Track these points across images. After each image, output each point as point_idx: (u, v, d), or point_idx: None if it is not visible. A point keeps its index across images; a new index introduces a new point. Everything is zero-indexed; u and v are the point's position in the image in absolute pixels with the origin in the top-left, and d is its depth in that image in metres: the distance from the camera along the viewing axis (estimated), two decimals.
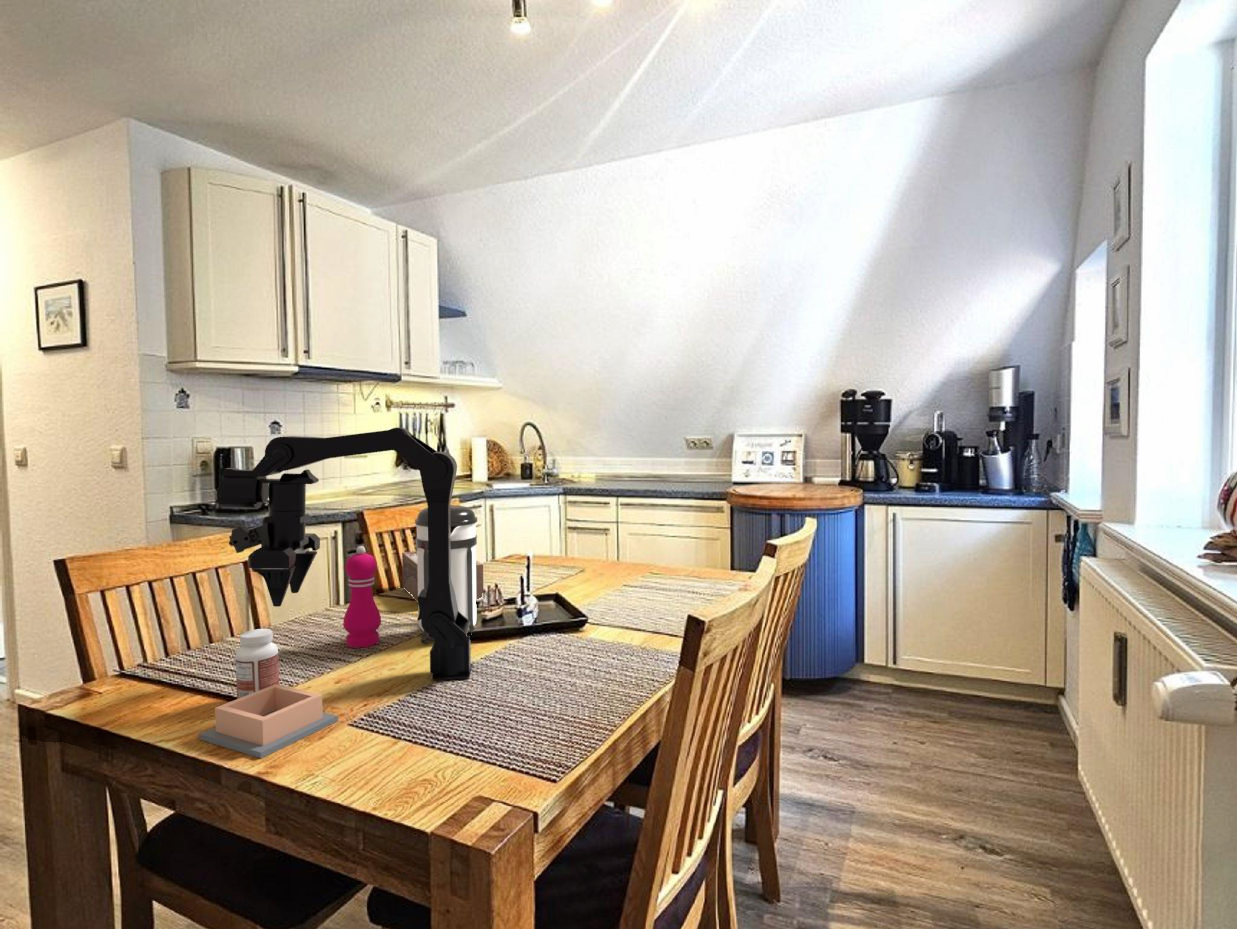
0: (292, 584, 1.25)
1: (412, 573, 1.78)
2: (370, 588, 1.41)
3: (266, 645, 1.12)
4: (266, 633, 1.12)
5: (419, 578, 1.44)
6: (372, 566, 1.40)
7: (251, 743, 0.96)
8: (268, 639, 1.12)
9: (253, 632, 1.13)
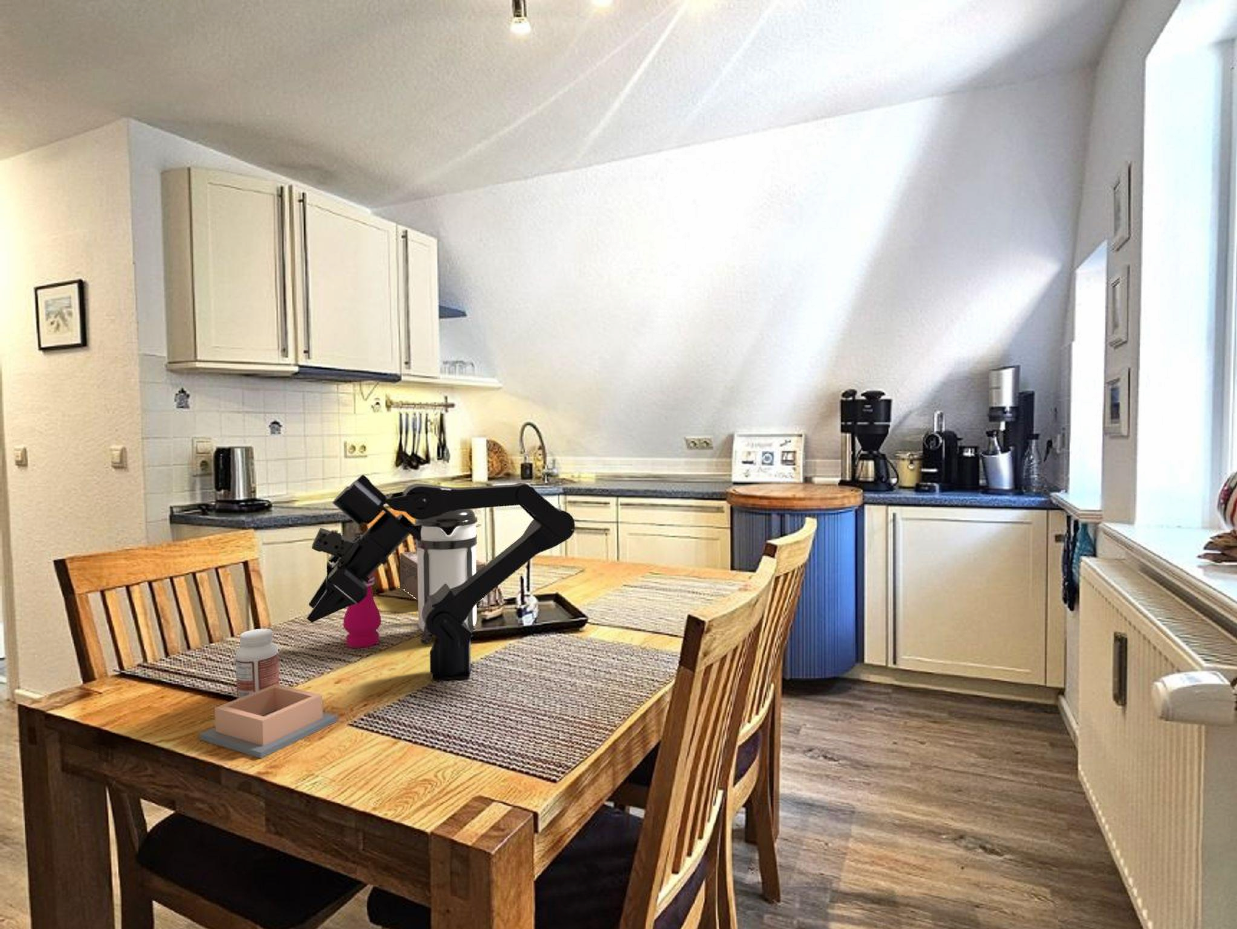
0: (315, 598, 1.20)
1: (412, 573, 1.78)
2: (370, 588, 1.41)
3: (266, 645, 1.12)
4: (266, 633, 1.12)
5: (419, 578, 1.44)
6: None
7: (251, 743, 0.96)
8: (268, 639, 1.12)
9: (253, 632, 1.13)
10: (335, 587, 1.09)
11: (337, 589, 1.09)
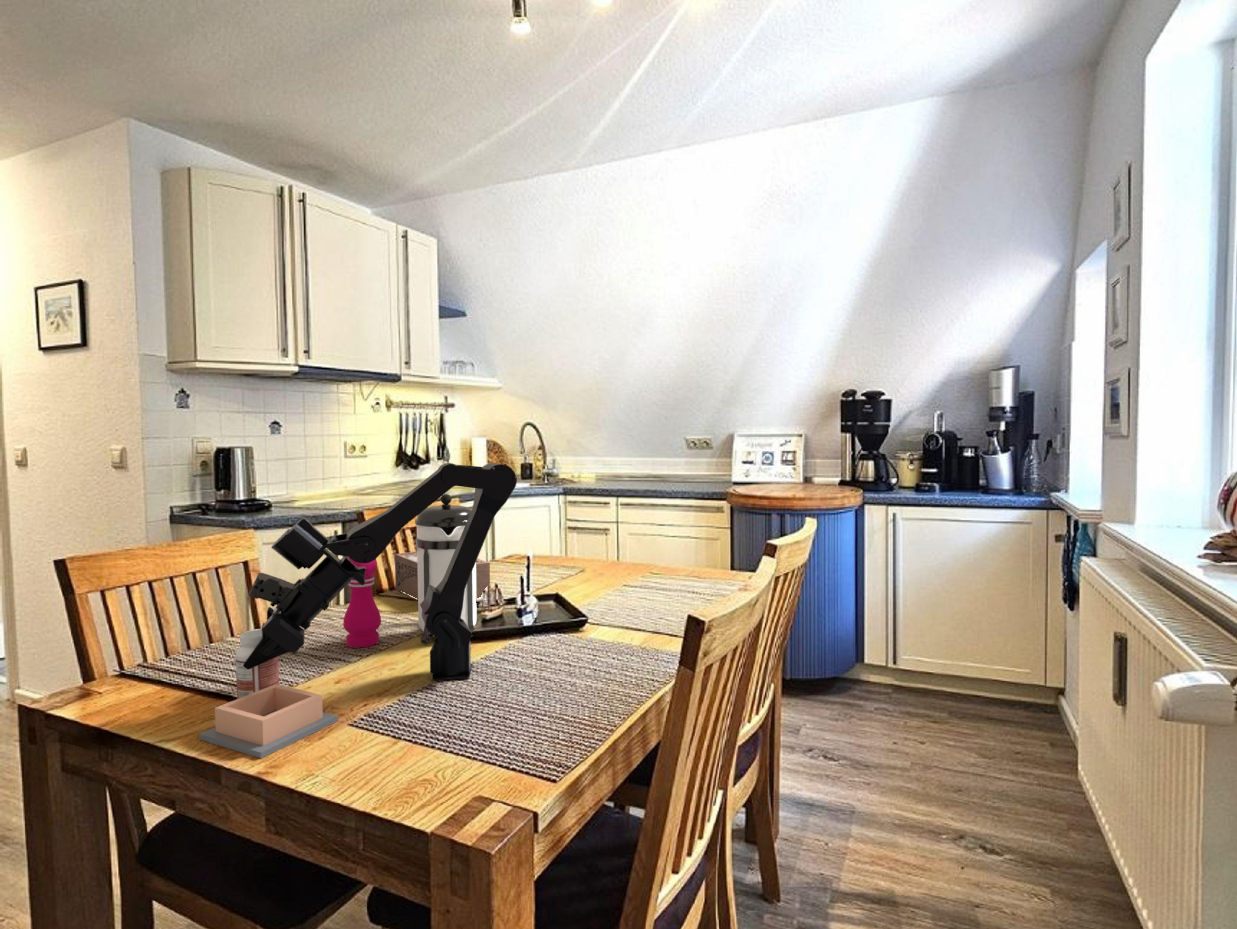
0: None
1: (413, 574, 1.77)
2: (370, 588, 1.41)
3: None
4: None
5: (419, 578, 1.44)
6: (372, 566, 1.40)
7: (251, 743, 0.96)
8: None
9: (253, 632, 1.13)
10: None
11: None
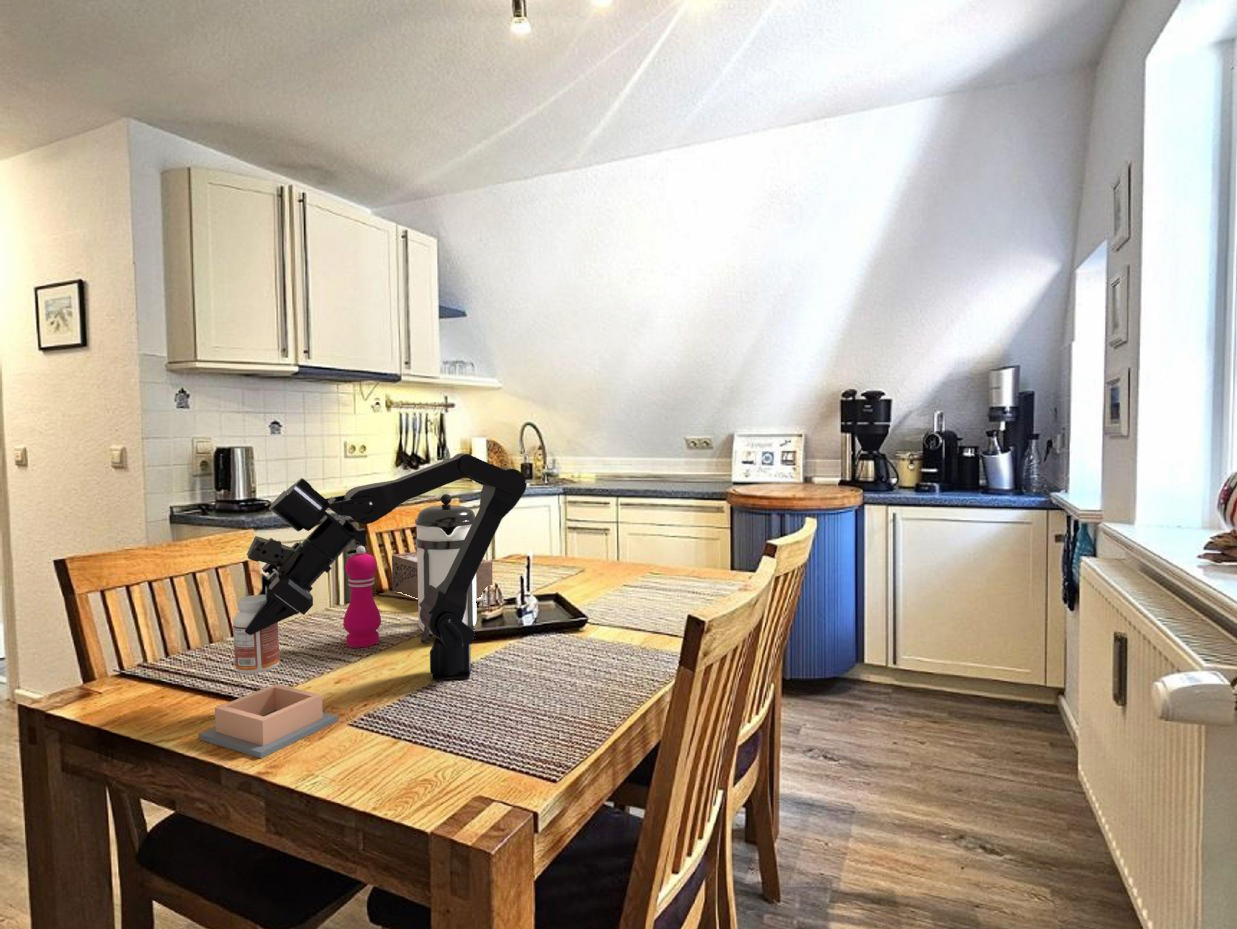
0: None
1: (414, 574, 1.77)
2: (370, 588, 1.41)
3: None
4: None
5: (419, 578, 1.44)
6: (372, 566, 1.40)
7: (251, 743, 0.96)
8: None
9: (251, 598, 1.08)
10: (277, 597, 1.04)
11: (279, 599, 1.04)
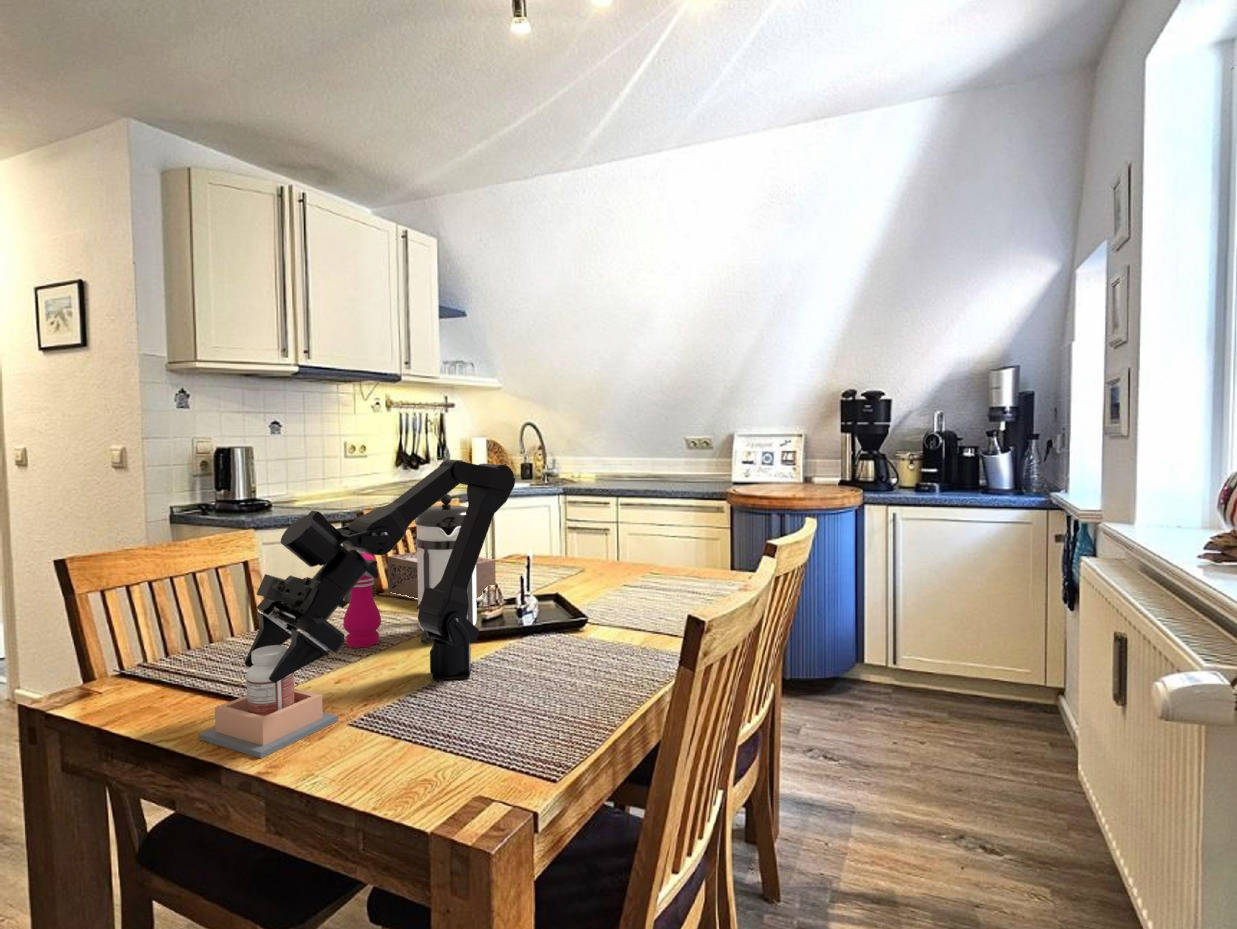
0: None
1: (416, 575, 1.76)
2: (370, 588, 1.41)
3: None
4: (283, 649, 1.02)
5: (419, 578, 1.44)
6: None
7: (251, 743, 0.96)
8: None
9: (264, 650, 1.02)
10: (309, 639, 0.98)
11: (311, 641, 0.98)
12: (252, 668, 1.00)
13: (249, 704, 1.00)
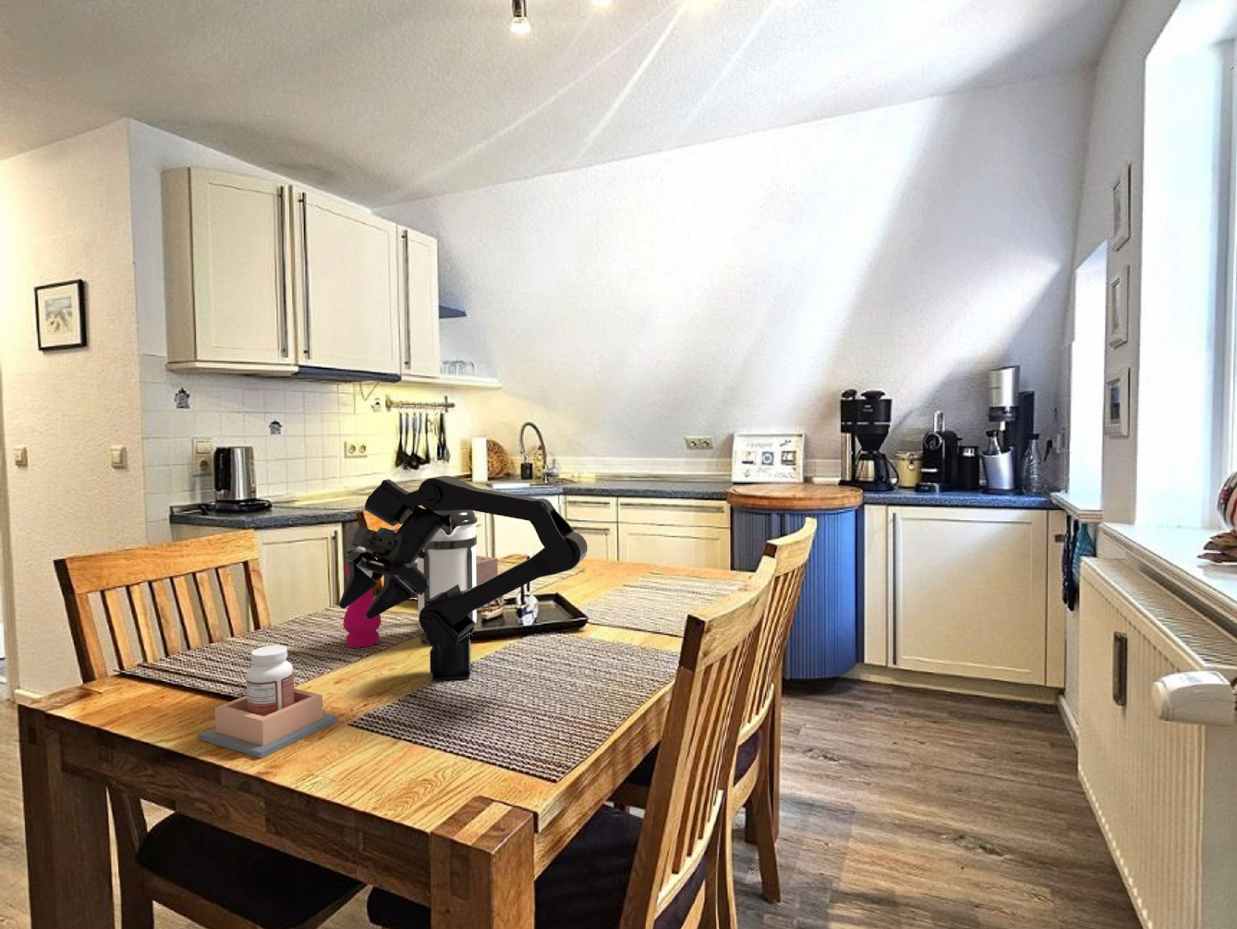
0: (345, 598, 1.19)
1: None
2: None
3: (284, 662, 1.02)
4: (283, 649, 1.02)
5: None
6: None
7: (251, 743, 0.96)
8: (286, 655, 1.02)
9: (264, 650, 1.01)
10: (400, 581, 1.13)
11: (402, 583, 1.13)
12: (252, 668, 1.00)
13: (249, 704, 1.00)
